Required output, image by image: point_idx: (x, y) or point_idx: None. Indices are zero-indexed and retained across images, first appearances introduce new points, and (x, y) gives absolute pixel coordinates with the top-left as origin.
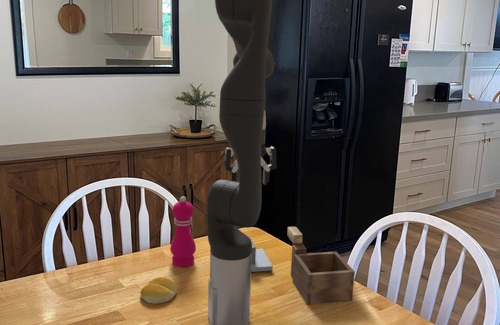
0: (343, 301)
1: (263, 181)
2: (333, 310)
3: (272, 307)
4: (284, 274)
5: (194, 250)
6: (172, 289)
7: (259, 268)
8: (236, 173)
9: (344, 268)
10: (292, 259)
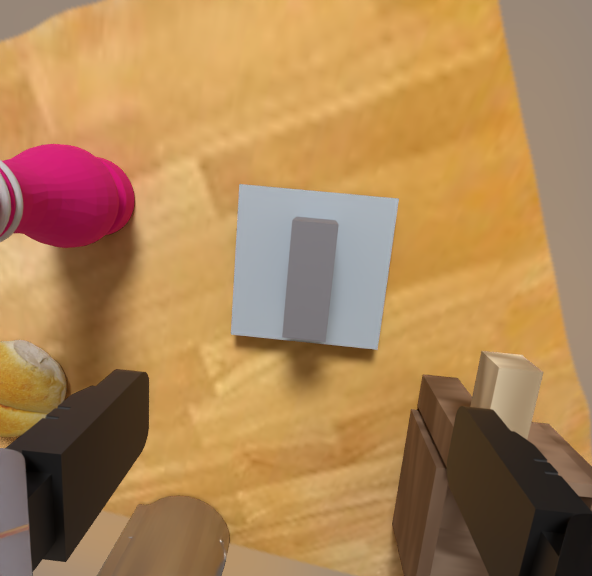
0: None
1: (461, 446)
2: None
3: (301, 511)
4: (407, 361)
5: (107, 227)
6: (44, 411)
7: (330, 343)
8: (64, 555)
9: None
10: (438, 414)
